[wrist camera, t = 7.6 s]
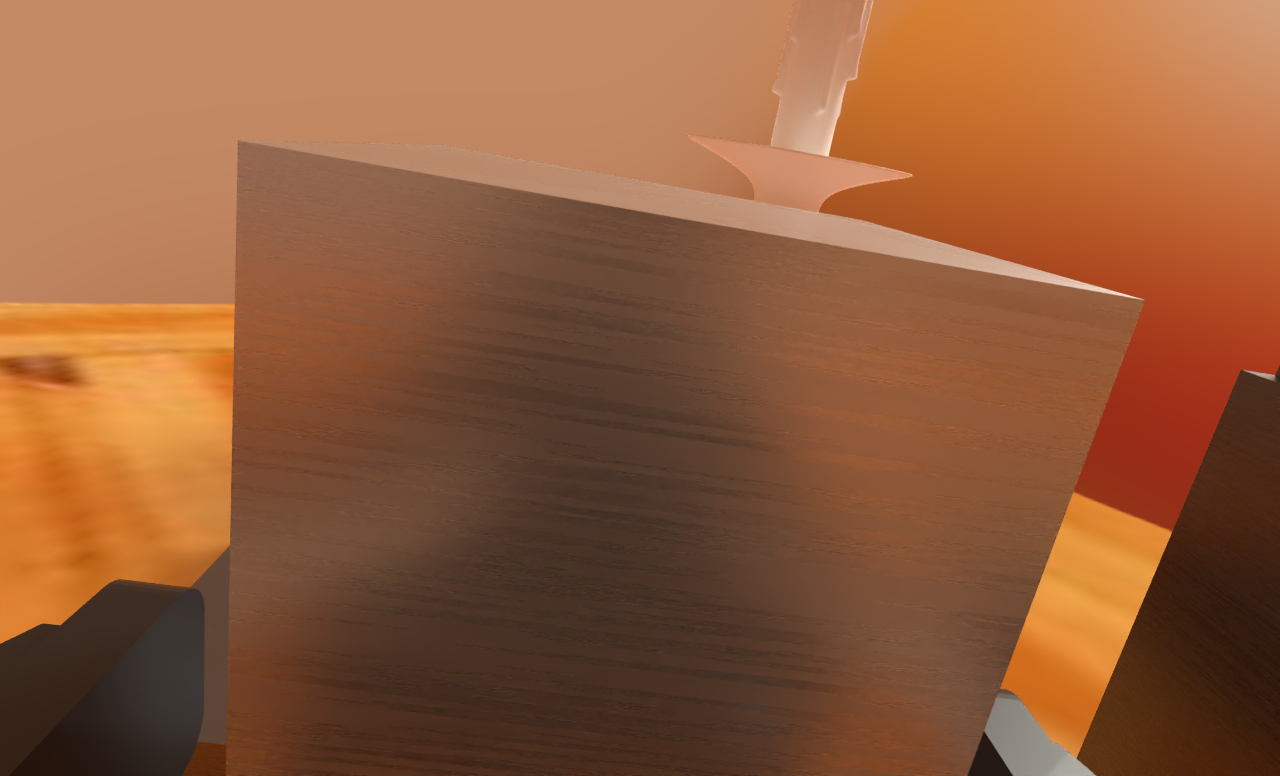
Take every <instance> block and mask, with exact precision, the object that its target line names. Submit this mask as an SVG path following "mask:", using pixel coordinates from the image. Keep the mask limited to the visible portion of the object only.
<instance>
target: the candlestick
mask: <svg viewBox="0 0 1280 776" xmlns="http://www.w3.org/2000/svg"><path fill="white" fill-rule="evenodd" d="M872 4H873V0H793V4H792V9H791V13H790V18H789V23H788V28H787V32H786V37H785V42H784V47H783V51H782V56H781V61H780V65H779V71H778V75H777V78H776V81H775V83H774V85H773V88H772V92H774V93H775V94H777V95H779V96H780V103H779V107H778V112H777V117H776V121H775V126H774V131H773V135H772V140H771V144H770V146H766V145H760V144H754V143H748V142H742V141H735V140H729V139H722V138H715V137H707V136H698V135H687V136H688V137H689V138H690V139H692V140H694V141H695V142H697V143H699V144H700V145H702V146H704V147H705V148H707V149H709V150H711V151H712V152H714V153H716V154H717V155H719V156H721V157H722V158H724V159H725V160H727V161H728V162H730V163H731V164H732V165H734V166H735V167H737V168H738V169H739V170H740V171H741V172H742V173H743V174H745V175H746V176H747V177H748V178H749V180H750V181H751V184H752V185H753V187H754V200H753V201H758V202H763V203H769V204H774V205H780V206H785V207H791V208H796V209H802V210H808V211H813V212H819V208H820V207H821V205H822V203H823V201H824V200H826V199H827V198H828V197H829V196H831V195H832V194H834V193H836V192H839V191H842V190H844V189H847V188H851V187H855V186H860V185H864V184H870V183H876V182H882V181H888V180H895V179H901V178H907V177H911V176H912V175H911V174H908V173H905V172H901V171H897V170H893V169H888V168H883V167H879V166H874V165H869V164H864V163H859V162H854V161H849V160H844V159H839V158H834V157H829V151H830V146H831V142H832V138H833V134H834V129H835V125H836V121H837V118H838V117H839V115H840V112H841V104H842V99H843V95H844V91H845V86H846V82H847V81H849V80H854V79H856V78H857V75H858V63H859V58H860V54H861V50H862V46H863V42H864V37H865V33H866V29H867V25H868V21H869V17H870V12H871V8H872Z"/></svg>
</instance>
